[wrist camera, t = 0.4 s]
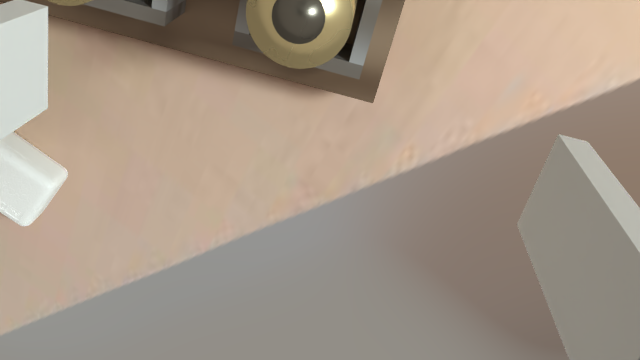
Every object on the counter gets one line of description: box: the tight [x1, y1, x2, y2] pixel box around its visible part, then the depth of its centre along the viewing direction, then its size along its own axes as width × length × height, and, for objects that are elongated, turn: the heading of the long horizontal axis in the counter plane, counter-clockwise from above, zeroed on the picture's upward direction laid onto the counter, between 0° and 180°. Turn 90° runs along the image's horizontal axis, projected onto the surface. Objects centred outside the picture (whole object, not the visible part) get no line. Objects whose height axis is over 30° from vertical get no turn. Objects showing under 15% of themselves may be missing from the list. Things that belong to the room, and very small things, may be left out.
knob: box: [246, 0, 357, 69], centre depth 28 cm, size 5×5×5 cm
